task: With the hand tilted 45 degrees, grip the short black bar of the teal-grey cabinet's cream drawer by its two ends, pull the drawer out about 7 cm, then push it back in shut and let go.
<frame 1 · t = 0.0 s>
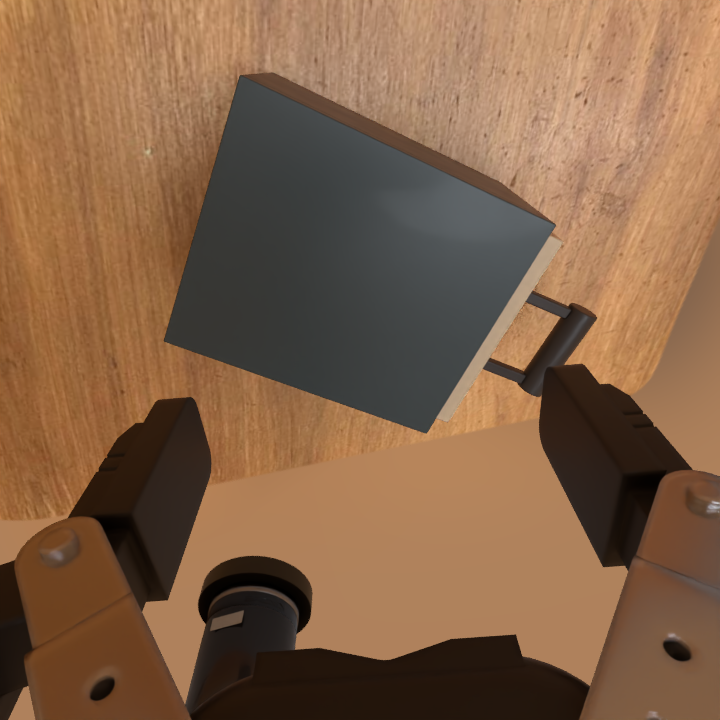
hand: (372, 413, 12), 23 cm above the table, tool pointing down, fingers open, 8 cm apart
drawer: (418, 283, 29), point 5 cm above the table, slide at 0.0 cm
cabinet: (349, 230, 33), on the table
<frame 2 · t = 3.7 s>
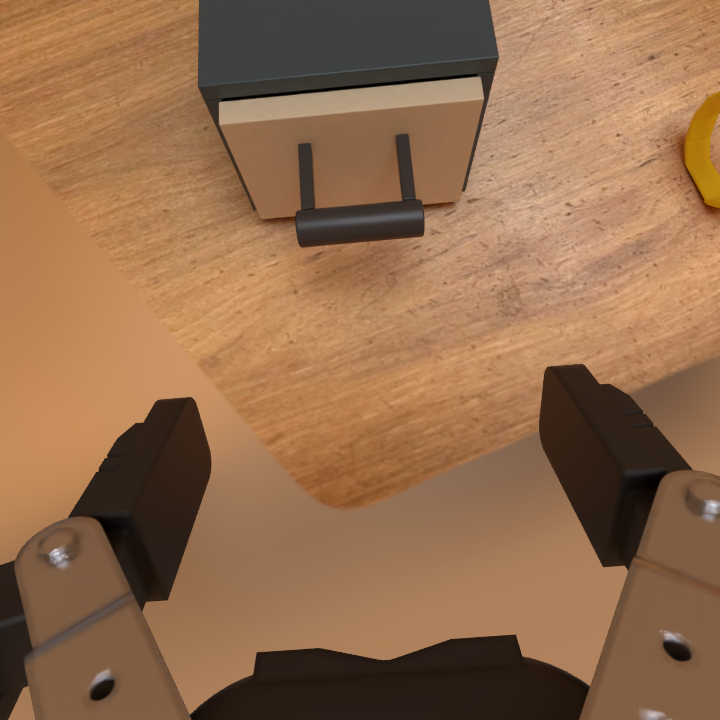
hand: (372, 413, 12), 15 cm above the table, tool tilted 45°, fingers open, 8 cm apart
drawer: (350, 98, 27), point 5 cm above the table, slide at 0.0 cm
cabinet: (350, 99, 33), on the table
watch: (701, 182, 30), on the table
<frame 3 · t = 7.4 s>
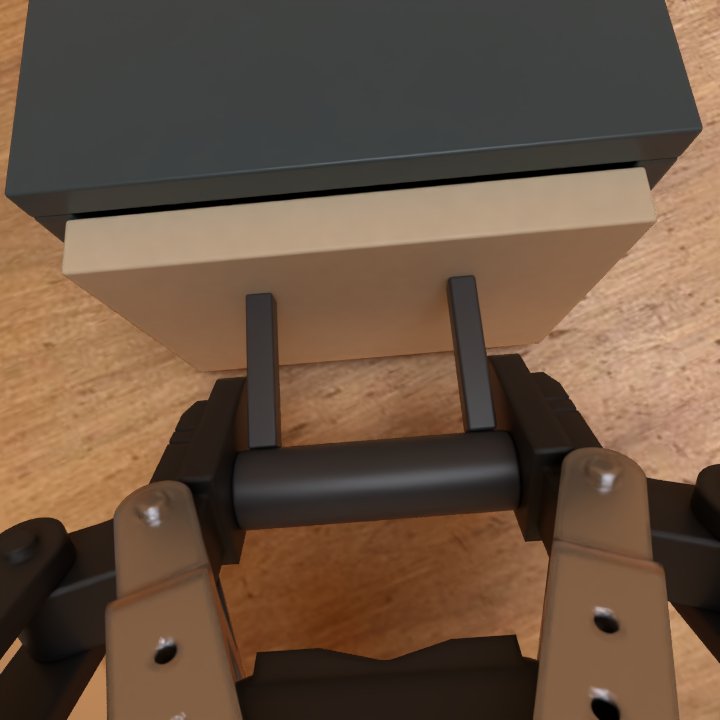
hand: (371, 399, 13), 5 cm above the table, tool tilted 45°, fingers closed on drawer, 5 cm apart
drawer: (352, 177, 15), point 5 cm above the table, slide at 0.0 cm, touching gripper
cabinet: (352, 157, 20), on the table
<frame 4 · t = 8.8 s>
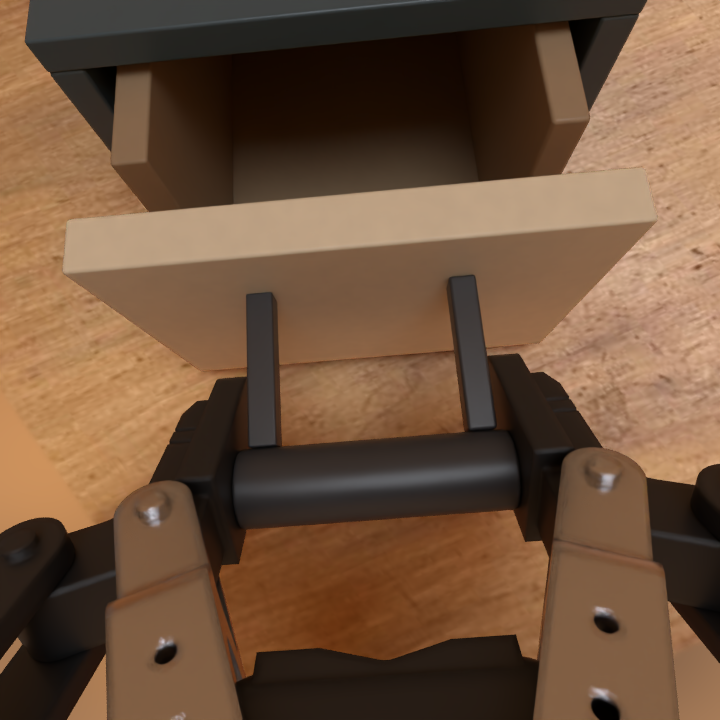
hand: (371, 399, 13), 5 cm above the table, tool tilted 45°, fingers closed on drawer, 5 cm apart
drawer: (352, 177, 15), point 5 cm above the table, slide at 3.5 cm, touching gripper
cabinet: (347, 85, 21), on the table
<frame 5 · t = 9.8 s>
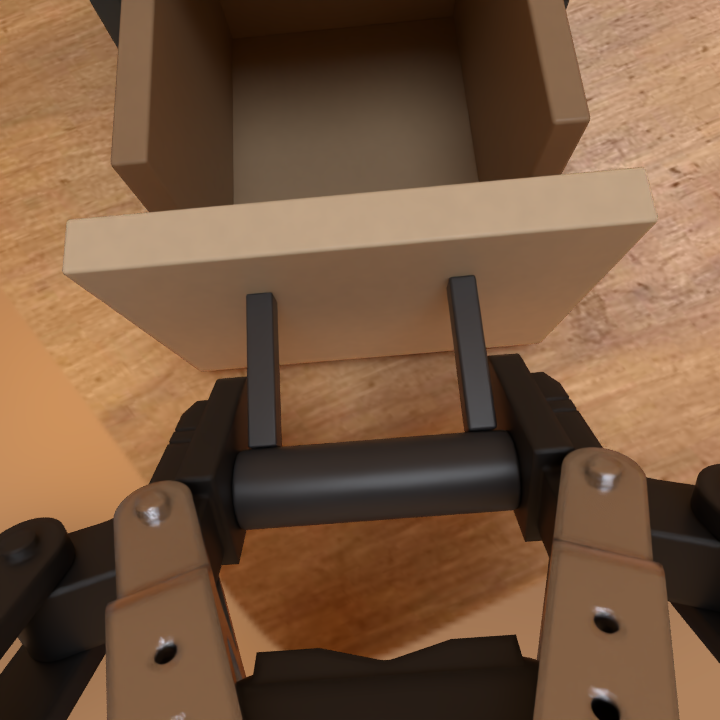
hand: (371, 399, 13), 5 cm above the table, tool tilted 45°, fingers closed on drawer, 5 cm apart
drawer: (353, 177, 15), point 5 cm above the table, slide at 6.9 cm, touching gripper
cabinet: (342, 20, 22), on the table
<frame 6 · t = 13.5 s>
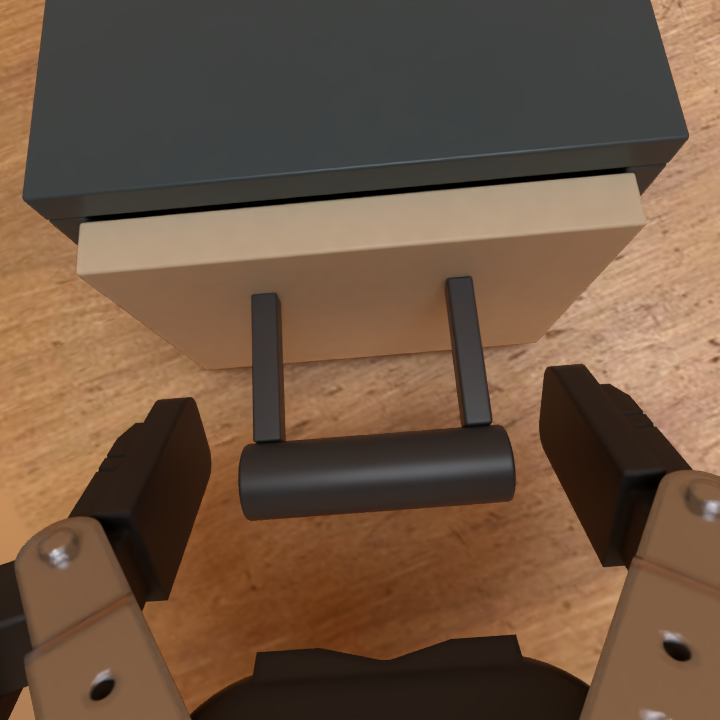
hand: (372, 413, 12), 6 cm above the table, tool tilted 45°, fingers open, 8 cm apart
drawer: (354, 181, 15), point 5 cm above the table, slide at 0.0 cm, touching cabinet
cabinet: (354, 160, 21), on the table
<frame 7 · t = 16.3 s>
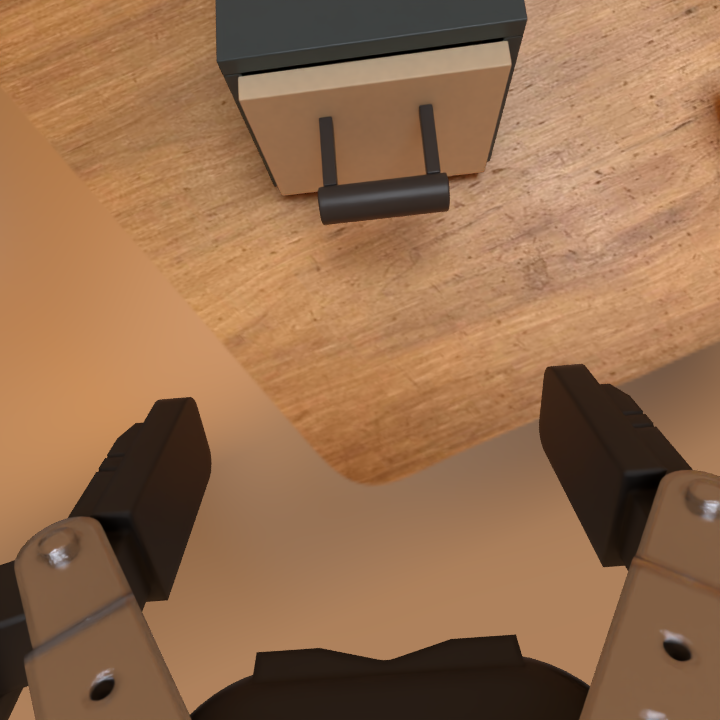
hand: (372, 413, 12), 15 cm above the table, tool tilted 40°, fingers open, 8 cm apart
drawer: (370, 67, 26), point 5 cm above the table, slide at 0.0 cm, touching cabinet
cabinet: (370, 67, 32), on the table
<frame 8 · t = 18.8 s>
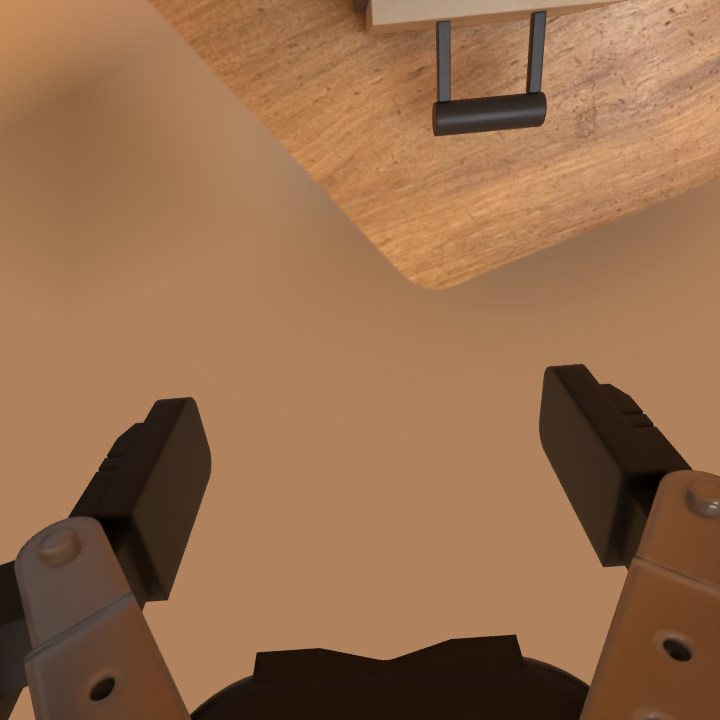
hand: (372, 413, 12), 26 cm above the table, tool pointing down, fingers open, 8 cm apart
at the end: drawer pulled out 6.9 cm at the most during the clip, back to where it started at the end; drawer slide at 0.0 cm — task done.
